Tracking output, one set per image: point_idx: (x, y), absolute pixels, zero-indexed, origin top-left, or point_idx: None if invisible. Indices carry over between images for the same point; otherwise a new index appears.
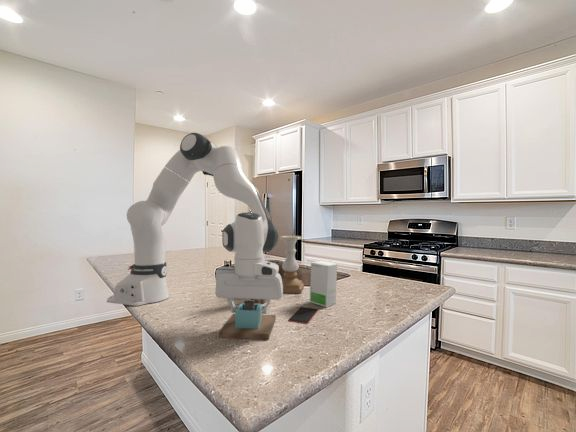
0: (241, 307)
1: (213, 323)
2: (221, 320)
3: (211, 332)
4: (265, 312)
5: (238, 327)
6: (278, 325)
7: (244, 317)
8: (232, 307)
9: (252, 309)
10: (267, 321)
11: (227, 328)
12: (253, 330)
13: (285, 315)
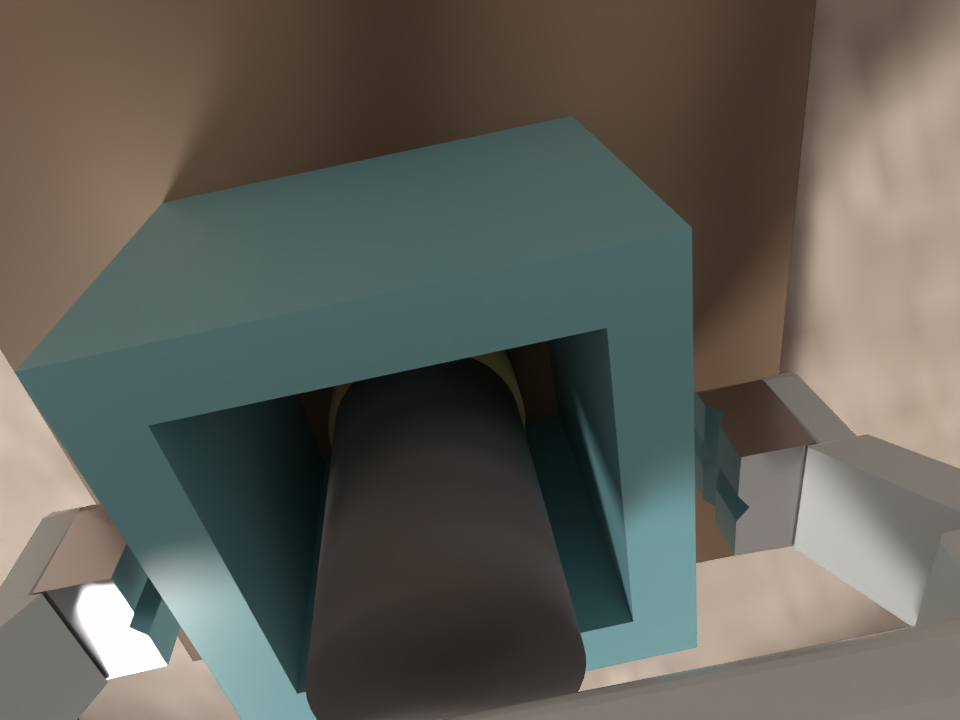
0: (616, 507)
1: (956, 311)
2: (866, 415)
3: (940, 17)
4: (56, 524)
5: (518, 132)
6: (71, 496)
7: (412, 218)
8: (821, 434)
9: (332, 504)
10: None
11: (706, 49)
12: (193, 99)
13: (161, 716)
